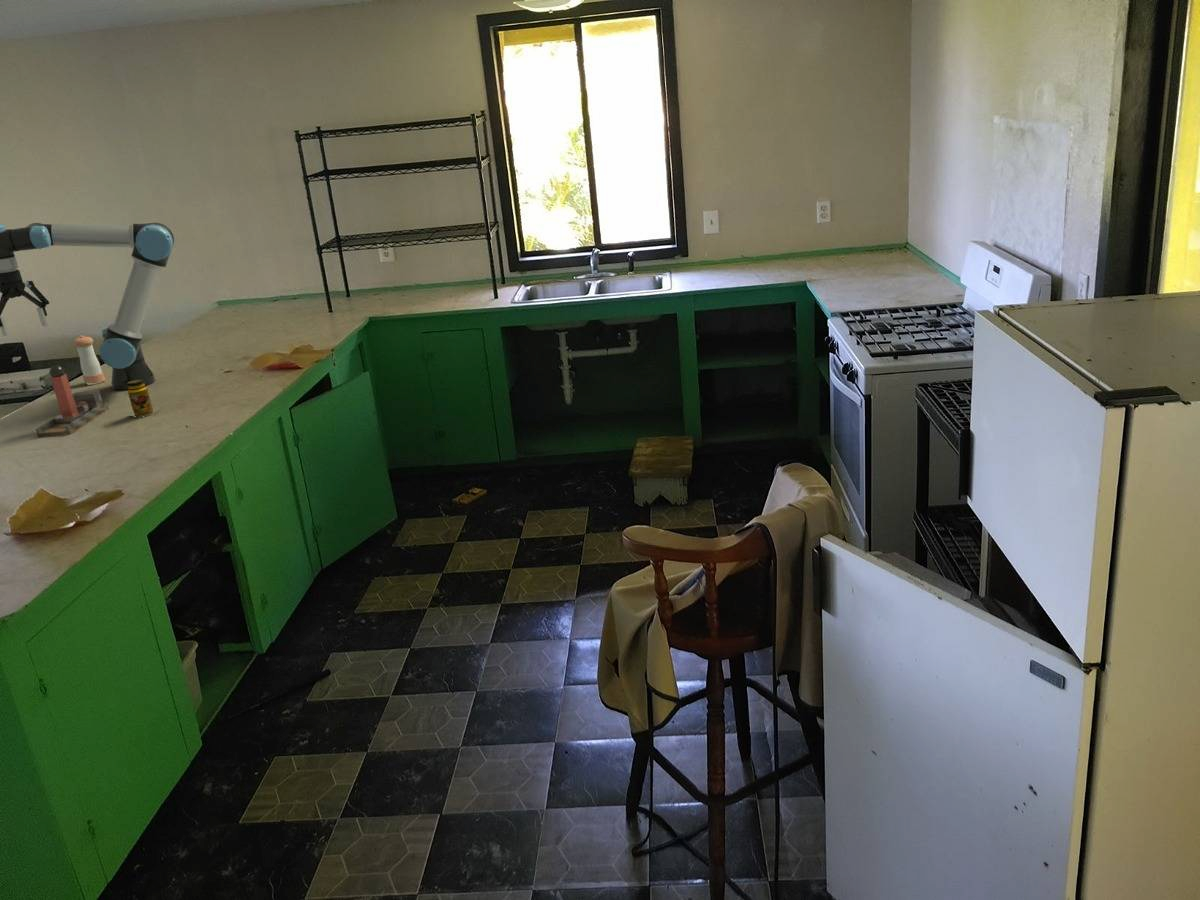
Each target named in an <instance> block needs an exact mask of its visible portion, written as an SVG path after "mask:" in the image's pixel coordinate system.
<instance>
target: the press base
mask: <svg viewBox="0 0 1200 900" xmlns="http://www.w3.org/2000/svg"><path fill="white" fill-rule="evenodd" d="M72 395H73V398H74V401H75V404H76V405H83V404H87V406H88V409H89V412H87V413H86V414H84V415H83V416H81V417H79V418H78V419H76V420H75V421H73V422H67V423H56V421H55V419H56V418H57V417H59V416H61V415H62V413H61V412H60V414H58V415H57V416H55V417H53V418H51V419H50V420H49V421H46V422H45V423H44V424H42V425H40V426H38V427H37V428H35V434H36V435H37V438H43V437H44V438H45V436H47V437H57V436H56V435H58V436H64V435H63V434H69V435H72V434H73V433H75V432H76V431H75V430H77V429H78V430H80V429H81V428H83V427H84V426H85V424H86V423H87V424H89V423H90V422H92V421H93V420H95V419H96V418H98V417H99V416H101V415H102V414H104V413H105V412H107V411H108V410H110V409H109V406H108V405H105V406H104V403H103V399H102V396H101V395H102V394H101V392H100V390H98V389H97V390H87V391H85V390H84V391H76V392H75V393H72ZM106 410H107V411H106ZM103 412H104V413H103ZM101 413H102V414H101ZM100 414H101V415H100ZM98 415H99V416H98ZM97 416H98V417H97ZM95 417H96V418H95ZM94 418H95V419H94ZM92 419H93V420H92ZM91 420H92V421H91ZM89 421H90V422H89ZM88 422H89V423H88ZM87 424H86V425H87ZM83 425H84V426H83ZM82 426H83V427H82ZM80 427H81V428H80ZM79 428H80V429H79ZM78 430H77V431H78ZM74 431H75V432H74ZM72 432H73V433H72ZM71 433H72V434H71Z"/></svg>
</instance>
